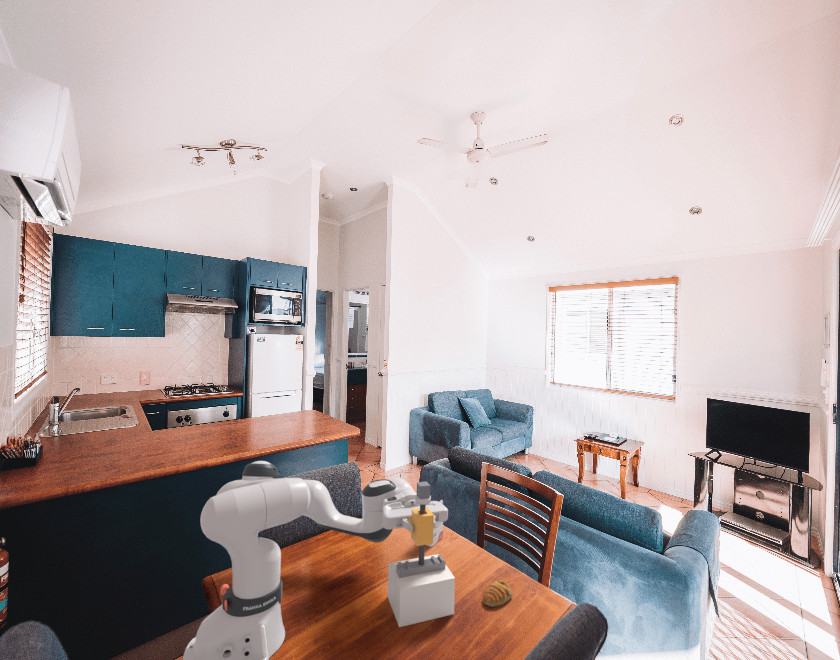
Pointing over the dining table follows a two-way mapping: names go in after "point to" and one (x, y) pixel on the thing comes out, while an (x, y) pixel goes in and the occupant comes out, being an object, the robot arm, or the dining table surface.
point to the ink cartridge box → (437, 531)
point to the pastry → (497, 594)
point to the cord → (422, 508)
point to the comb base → (420, 590)
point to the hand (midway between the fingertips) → (423, 527)
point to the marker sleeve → (422, 527)
